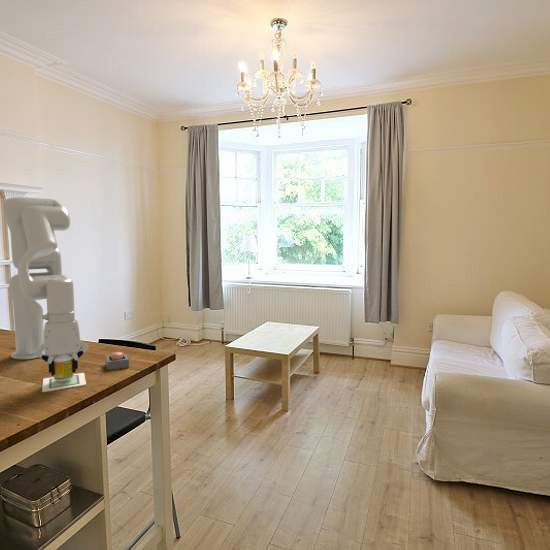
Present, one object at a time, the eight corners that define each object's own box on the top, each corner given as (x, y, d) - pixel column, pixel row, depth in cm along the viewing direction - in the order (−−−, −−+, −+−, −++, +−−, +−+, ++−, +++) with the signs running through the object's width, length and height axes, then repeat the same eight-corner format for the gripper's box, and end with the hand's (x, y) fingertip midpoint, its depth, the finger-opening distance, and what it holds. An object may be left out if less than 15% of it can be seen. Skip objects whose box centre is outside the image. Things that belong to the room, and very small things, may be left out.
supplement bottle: (65, 382, 124) (63, 352, 123) (50, 380, 125) (48, 350, 124) (77, 376, 129) (75, 347, 128) (62, 374, 130) (61, 345, 129)
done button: (110, 359, 143) (110, 352, 143) (122, 358, 145) (122, 351, 145) (111, 362, 140) (111, 356, 140) (123, 361, 142) (123, 354, 142)
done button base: (105, 364, 144) (105, 356, 144) (126, 361, 148) (126, 353, 147) (108, 370, 138) (107, 362, 138) (129, 367, 141) (128, 359, 141)
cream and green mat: (43, 379, 129) (43, 378, 129) (84, 373, 135) (84, 372, 135) (42, 392, 119) (42, 390, 119) (86, 385, 125) (86, 383, 125)
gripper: (28, 322, 117) (31, 381, 119) (92, 317, 125) (94, 372, 127) (30, 317, 124) (33, 373, 126) (90, 312, 132) (92, 365, 134)
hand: (63, 372), depth 127 cm, fingers closed on supplement bottle, 5 cm apart
